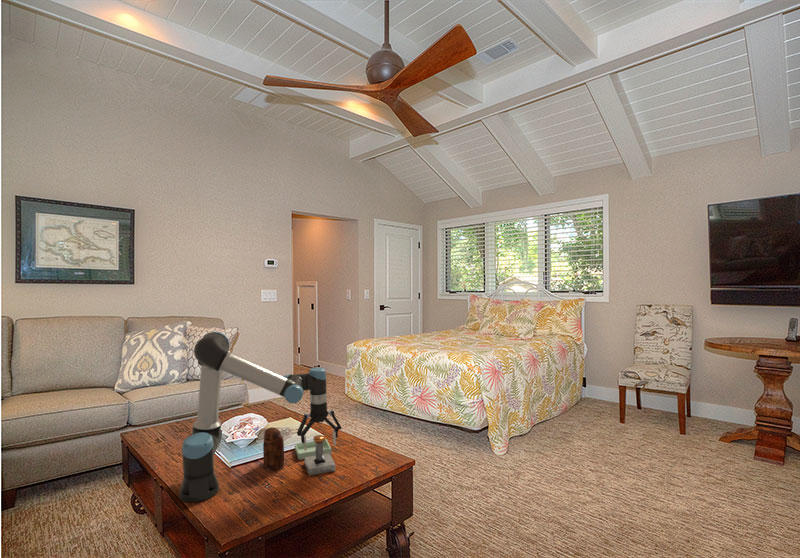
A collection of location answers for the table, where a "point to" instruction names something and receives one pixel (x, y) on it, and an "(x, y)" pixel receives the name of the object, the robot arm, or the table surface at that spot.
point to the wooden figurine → (273, 449)
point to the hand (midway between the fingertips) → (319, 446)
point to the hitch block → (321, 467)
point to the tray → (310, 449)
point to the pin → (319, 448)
